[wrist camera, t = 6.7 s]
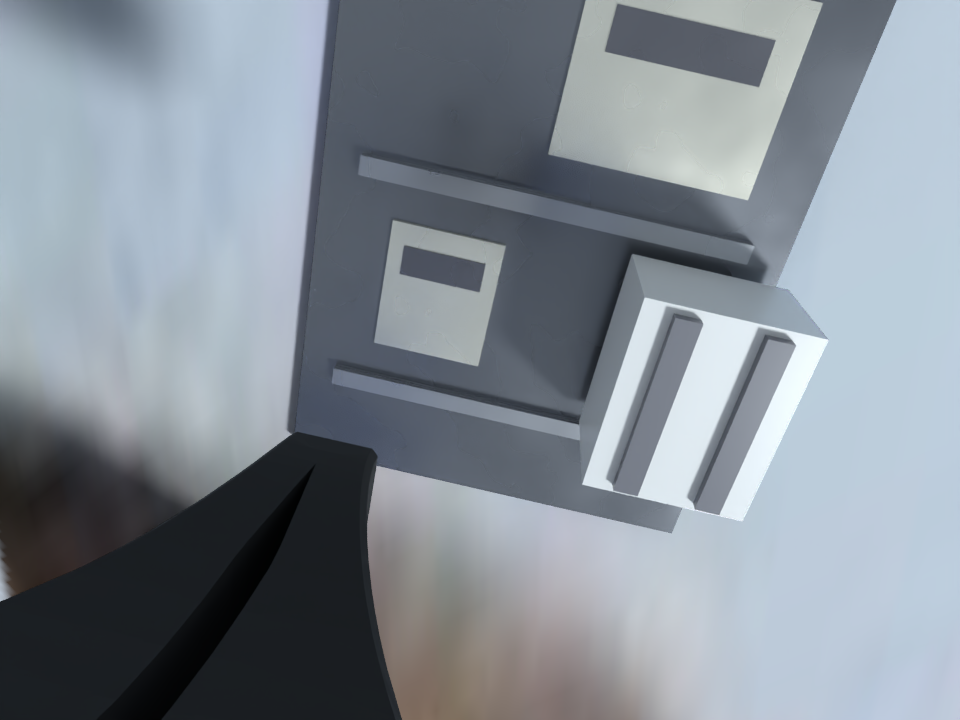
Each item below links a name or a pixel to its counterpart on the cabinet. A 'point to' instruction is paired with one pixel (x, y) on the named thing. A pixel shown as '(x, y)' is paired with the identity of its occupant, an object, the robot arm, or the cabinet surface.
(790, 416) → the white grey striped block
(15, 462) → the cabinet surface
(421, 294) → the label board
